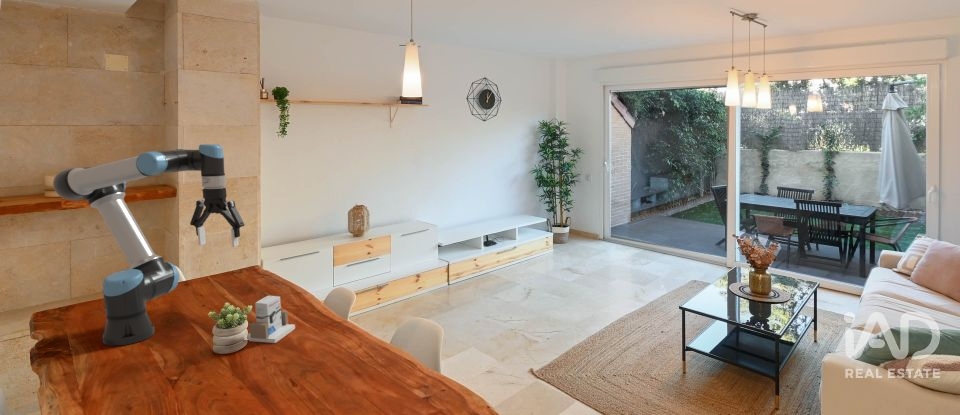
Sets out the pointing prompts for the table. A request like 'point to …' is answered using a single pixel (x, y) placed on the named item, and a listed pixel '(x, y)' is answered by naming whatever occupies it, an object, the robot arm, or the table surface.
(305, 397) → the table surface
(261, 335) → the stand
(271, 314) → the ink box
